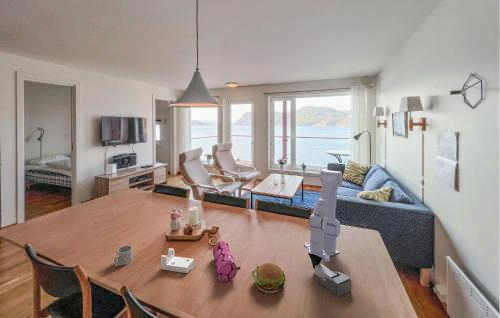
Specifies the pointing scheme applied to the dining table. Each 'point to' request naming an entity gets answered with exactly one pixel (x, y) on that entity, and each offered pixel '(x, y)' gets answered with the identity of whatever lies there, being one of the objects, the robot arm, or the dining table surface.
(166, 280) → the dining table surface
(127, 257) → the mug
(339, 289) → the endcap
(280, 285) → the food
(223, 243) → the pencil case
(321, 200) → the robot arm
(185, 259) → the bracket
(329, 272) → the white rectangular block
